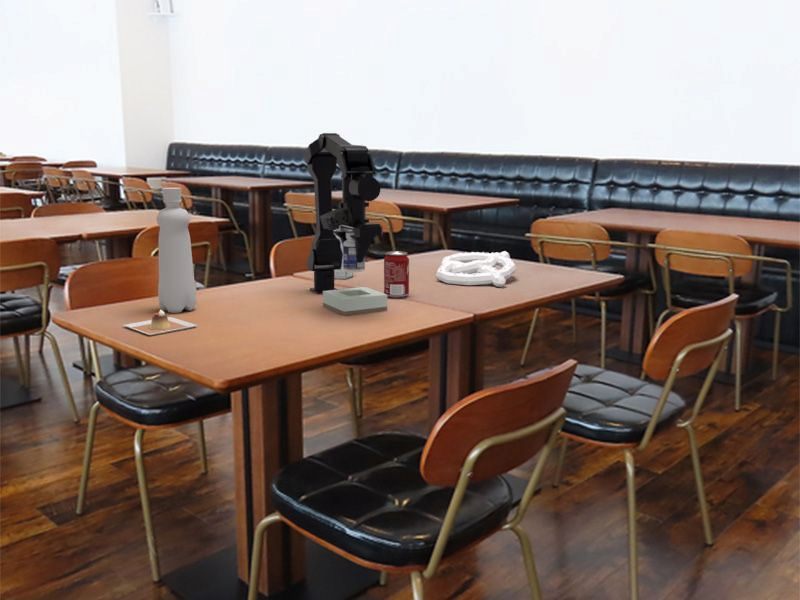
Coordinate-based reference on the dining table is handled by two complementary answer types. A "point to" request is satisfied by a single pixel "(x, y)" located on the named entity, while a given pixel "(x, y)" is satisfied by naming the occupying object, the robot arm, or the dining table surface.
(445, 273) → the white coiled rope knot
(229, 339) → the dining table surface
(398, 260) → the soda can
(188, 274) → the bottle
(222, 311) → the dining table surface
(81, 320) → the dining table surface
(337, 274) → the syrup box
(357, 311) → the bore block
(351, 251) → the pill bottle
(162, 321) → the dessert
